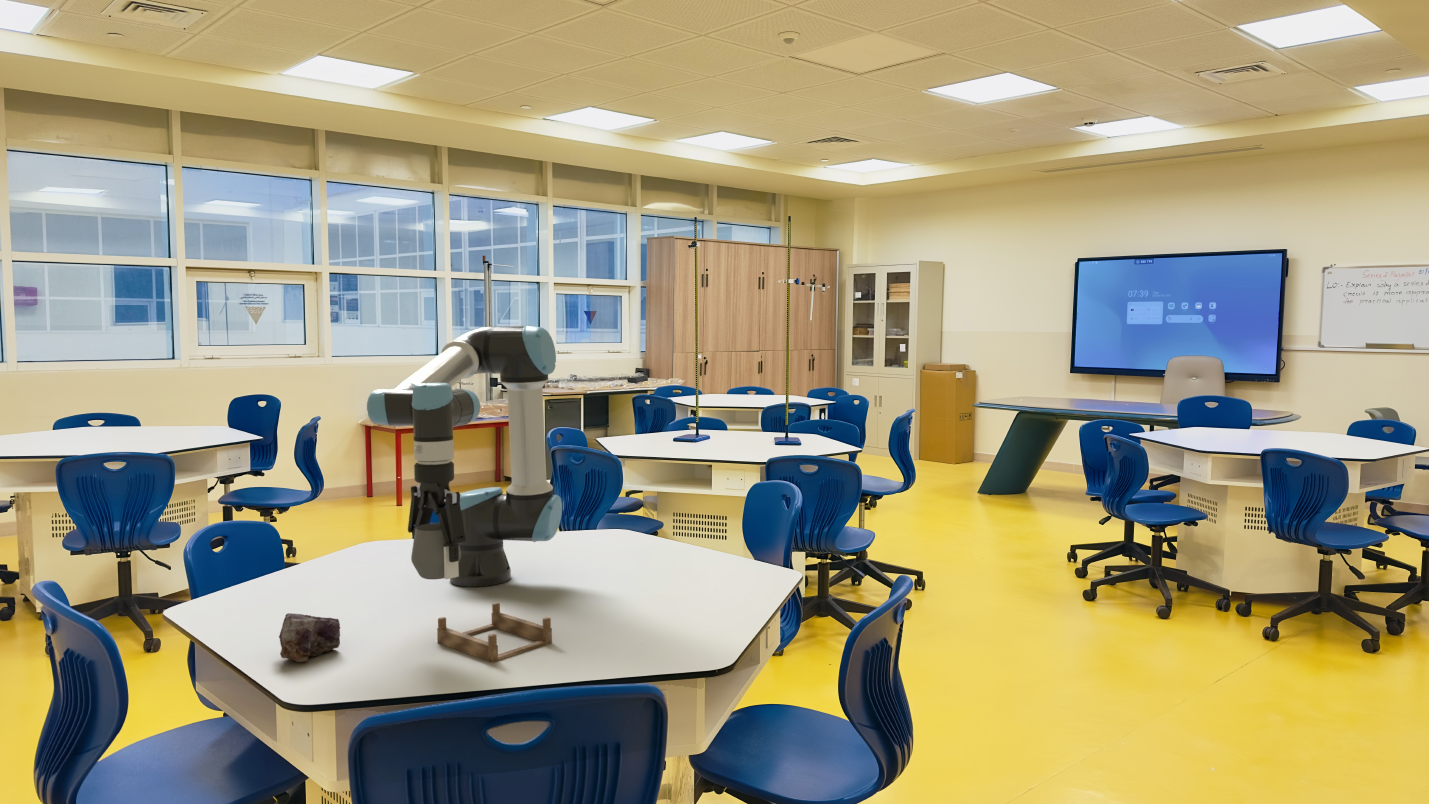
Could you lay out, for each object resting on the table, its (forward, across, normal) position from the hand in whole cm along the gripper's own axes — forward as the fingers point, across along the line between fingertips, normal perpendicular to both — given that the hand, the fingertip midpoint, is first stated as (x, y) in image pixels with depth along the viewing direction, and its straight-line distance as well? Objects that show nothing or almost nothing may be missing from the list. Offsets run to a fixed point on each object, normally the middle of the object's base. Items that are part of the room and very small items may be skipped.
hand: (437, 573), depth 185 cm
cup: (+1, 0, 0) cm, 1 cm away
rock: (+15, -16, -20) cm, 30 cm away
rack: (+15, +6, +9) cm, 19 cm away
